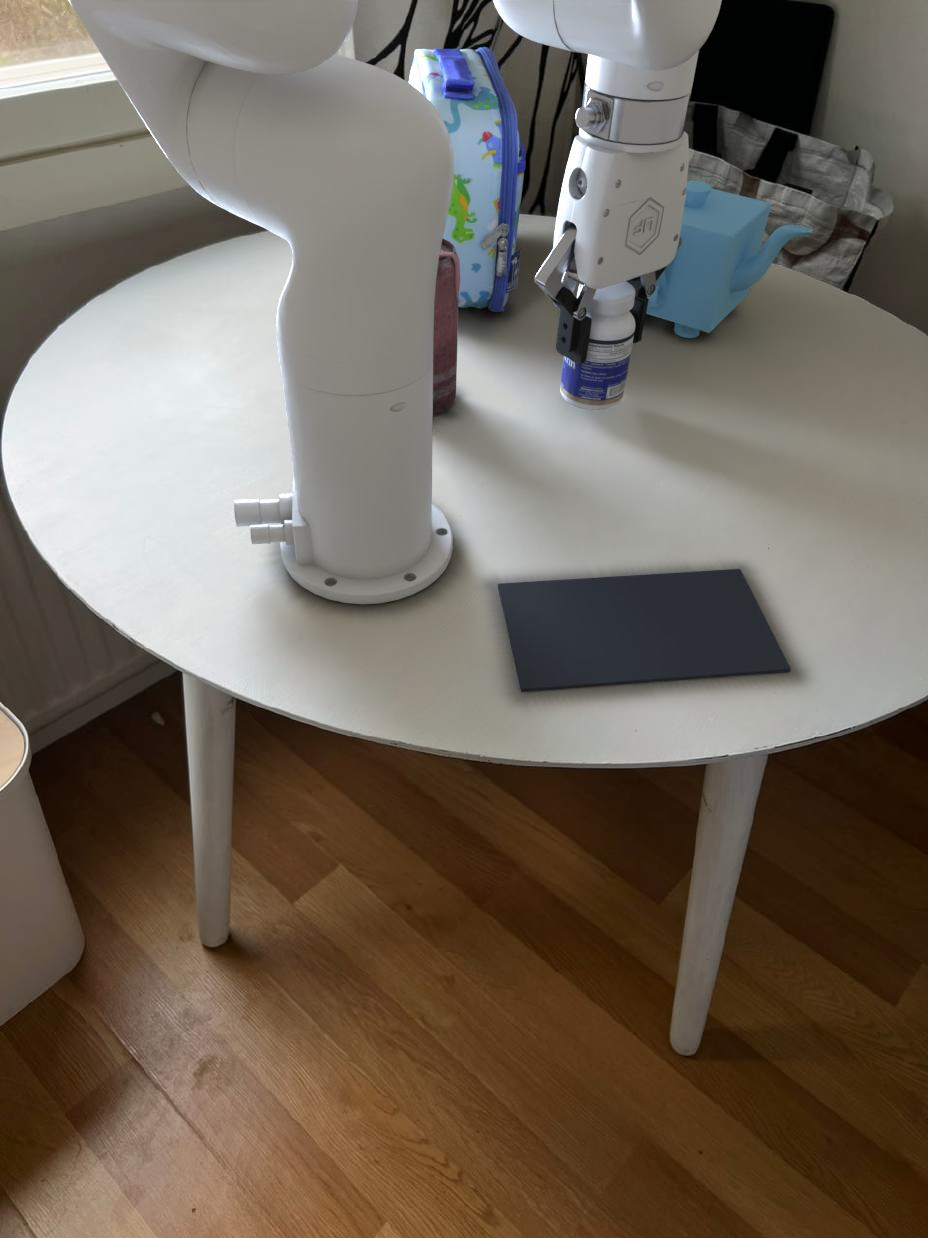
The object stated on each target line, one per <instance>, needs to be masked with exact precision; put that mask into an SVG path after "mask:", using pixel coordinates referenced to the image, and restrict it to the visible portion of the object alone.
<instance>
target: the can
mask: <svg viewBox="0 0 928 1238" xmlns="http://www.w3.org/2000/svg"><path fill="white" fill-rule="evenodd" d="M459 287H460V261H459V258H458V255H457V253H456V251H455V247H454V245H453V244H452V243H451V242H449V241H447V240H445V239H442V244H441V249H440V255H439V261H438V268H437V276H436V287H435V300H434V329H433V418H434V417H439V416H440V415H444V414H445V413H446V412H448V411H449V410H450V408H451V407H452V406H453V405H454V403H455V401H456V398H457V377H458V376H457V373H458V372H457V371H458V370H457V367H458V337H459V336H458V334H459V307H458V302H459Z"/></svg>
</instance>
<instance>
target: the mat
mask: <svg viewBox="0 0 928 1238" xmlns="http://www.w3.org/2000/svg"><path fill="white" fill-rule="evenodd" d="M497 590H498V593H499V598H500V603H501V607H502V612H503V616H504V620H505V625H506V630H507V633H508V639H509V643H510V648H511V651H512V657H513V661H514V665H515V669H516V675H517V679H518V683H519V687H520V692H521V693H526V692H539V691H541V692H542V691H549V690H550V691H551V690H553V691H554V690H566V689H567V690H568V689H579V688H591V687H592V688H594V687H606V686H608V687H609V686H620V685H631V684H645V683H646V684H647V683H648V684H649V683H659V682H661V683H662V682H673V681H687V680H700V679H713V678H725V677H726V678H727V677H740V676H752V675H766V674H780V673H781V674H782V673H790V672H791V671H792V667H791V665H790V664H789V661H788V660H787V658H786V656H785V654H784V652H783V650H782V647H781V646H780V644H779V642H778V640H777V638H776V636H775V635H774V633H773V631H772V629H771V627H770V625H769V623H768V621H767V618H766V616H765V615H764V612H763V611H762V609H761V606H760V605H759V602H758V601H757V599H756V597H755V594H754V593H753V591H752V589H751V587H750V585H749V583H748V581H747V579H746V577H745V575H744V573H743V571H742V570H741V568H732V569H731V568H730V569H711V570H698V571H697V570H695V571H683V572H681V571H680V572H679V571H678V572H665V573H650V574H649V573H648V574H646V573H645V574H631V575H614V576H599V577H598V576H597V577H584V578H567V579H566V578H565V579H550V580H549V579H548V580H535V581H534V580H533V581H532V580H531V581H517V582H503V583H502V582H500V583H497Z"/></svg>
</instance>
